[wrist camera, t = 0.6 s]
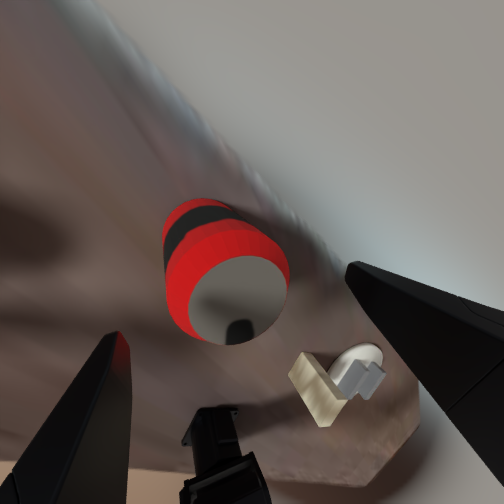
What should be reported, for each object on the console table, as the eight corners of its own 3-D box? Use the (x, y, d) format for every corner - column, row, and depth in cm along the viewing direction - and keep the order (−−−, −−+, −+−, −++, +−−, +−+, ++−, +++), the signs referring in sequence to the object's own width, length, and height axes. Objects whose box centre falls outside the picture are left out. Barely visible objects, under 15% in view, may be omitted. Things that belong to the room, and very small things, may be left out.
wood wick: (297, 375, 37) (329, 426, 30) (288, 374, 36) (319, 427, 29) (311, 353, 36) (347, 399, 29) (301, 351, 35) (337, 399, 28)
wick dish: (355, 394, 46) (369, 411, 43) (313, 394, 41) (325, 413, 38) (388, 346, 44) (405, 360, 41) (348, 338, 38) (364, 354, 35)
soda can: (166, 275, 23) (175, 373, 13) (157, 199, 20) (158, 245, 10) (239, 265, 26) (295, 340, 15) (239, 196, 23) (308, 231, 13)
